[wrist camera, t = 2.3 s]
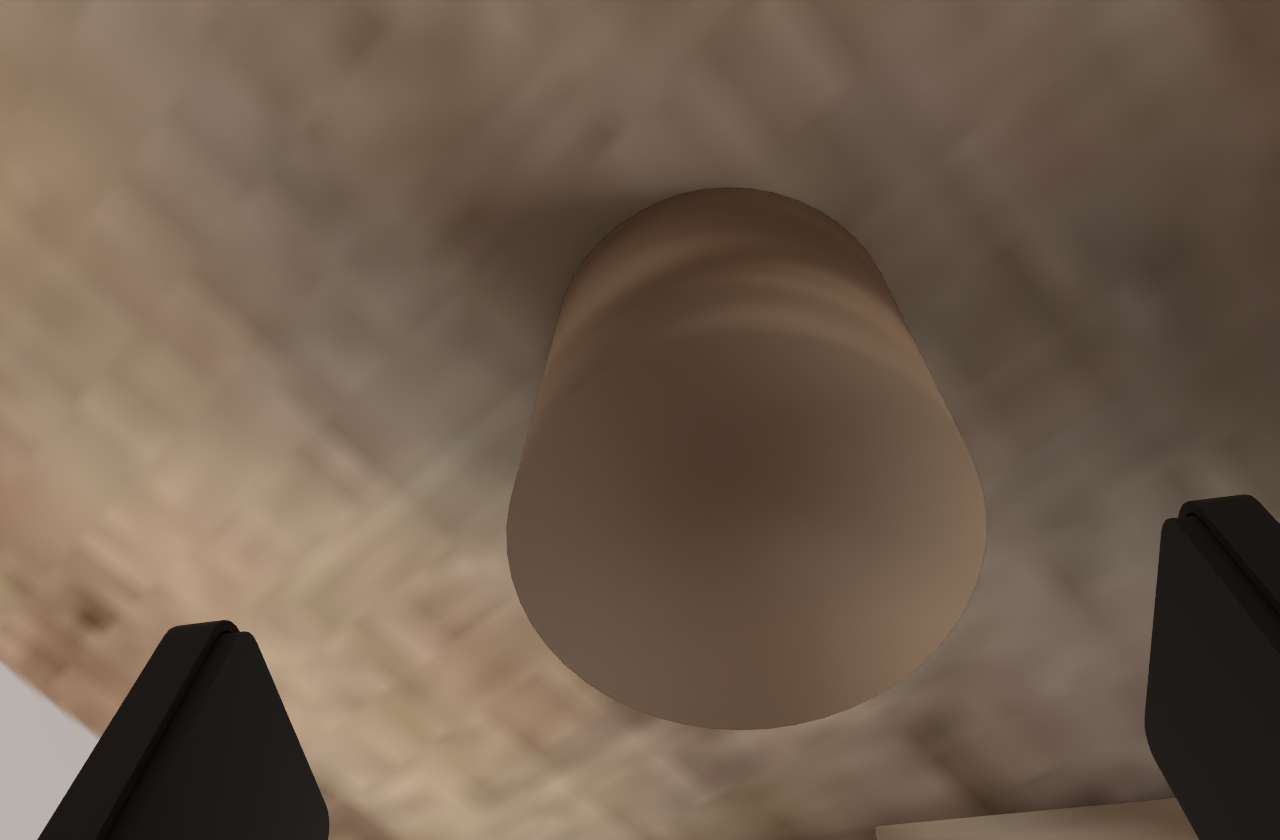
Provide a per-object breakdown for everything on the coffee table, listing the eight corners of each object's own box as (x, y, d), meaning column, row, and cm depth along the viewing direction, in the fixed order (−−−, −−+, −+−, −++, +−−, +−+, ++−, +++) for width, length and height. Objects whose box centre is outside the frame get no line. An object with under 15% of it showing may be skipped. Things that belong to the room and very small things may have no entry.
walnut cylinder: (888, 161, 17) (984, 298, 12) (904, 480, 20) (988, 707, 14) (523, 215, 18) (456, 369, 12) (588, 516, 20) (556, 748, 15)
